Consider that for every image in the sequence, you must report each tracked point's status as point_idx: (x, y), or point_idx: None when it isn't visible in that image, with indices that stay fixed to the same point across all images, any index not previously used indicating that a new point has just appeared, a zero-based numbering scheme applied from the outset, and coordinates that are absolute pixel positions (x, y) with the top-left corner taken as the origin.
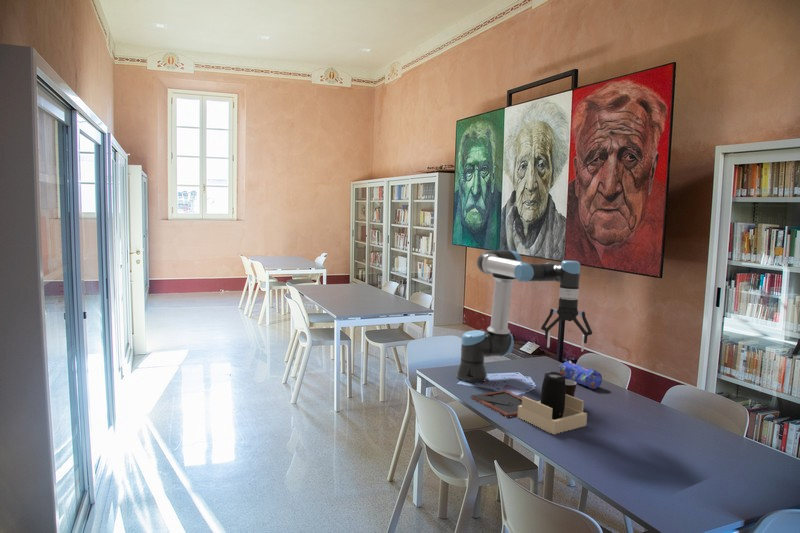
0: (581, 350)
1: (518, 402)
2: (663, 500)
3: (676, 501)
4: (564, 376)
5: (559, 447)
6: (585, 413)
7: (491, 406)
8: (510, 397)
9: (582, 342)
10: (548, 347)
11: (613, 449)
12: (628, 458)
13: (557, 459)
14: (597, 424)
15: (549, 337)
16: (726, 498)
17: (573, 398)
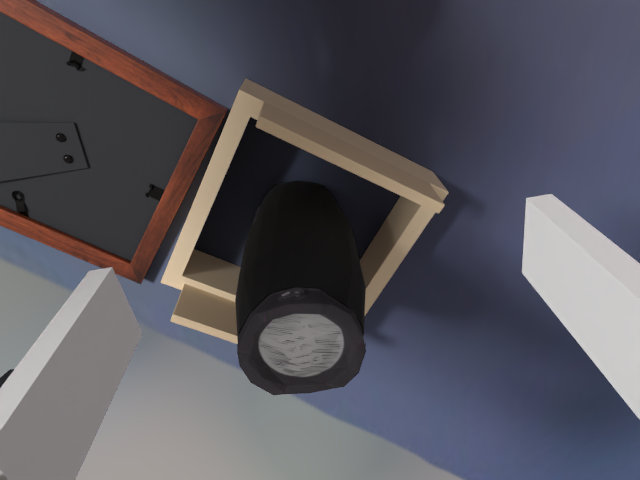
0: (529, 280)
1: (82, 90)
2: (607, 465)
3: (633, 457)
4: (364, 351)
5: (375, 380)
6: (441, 196)
7: (34, 238)
8: (1, 35)
9: (595, 349)
10: (137, 333)
11: (527, 311)
12: (564, 341)
13: (385, 435)
14: (477, 127)
15: (91, 443)
16: None
17: (388, 189)
